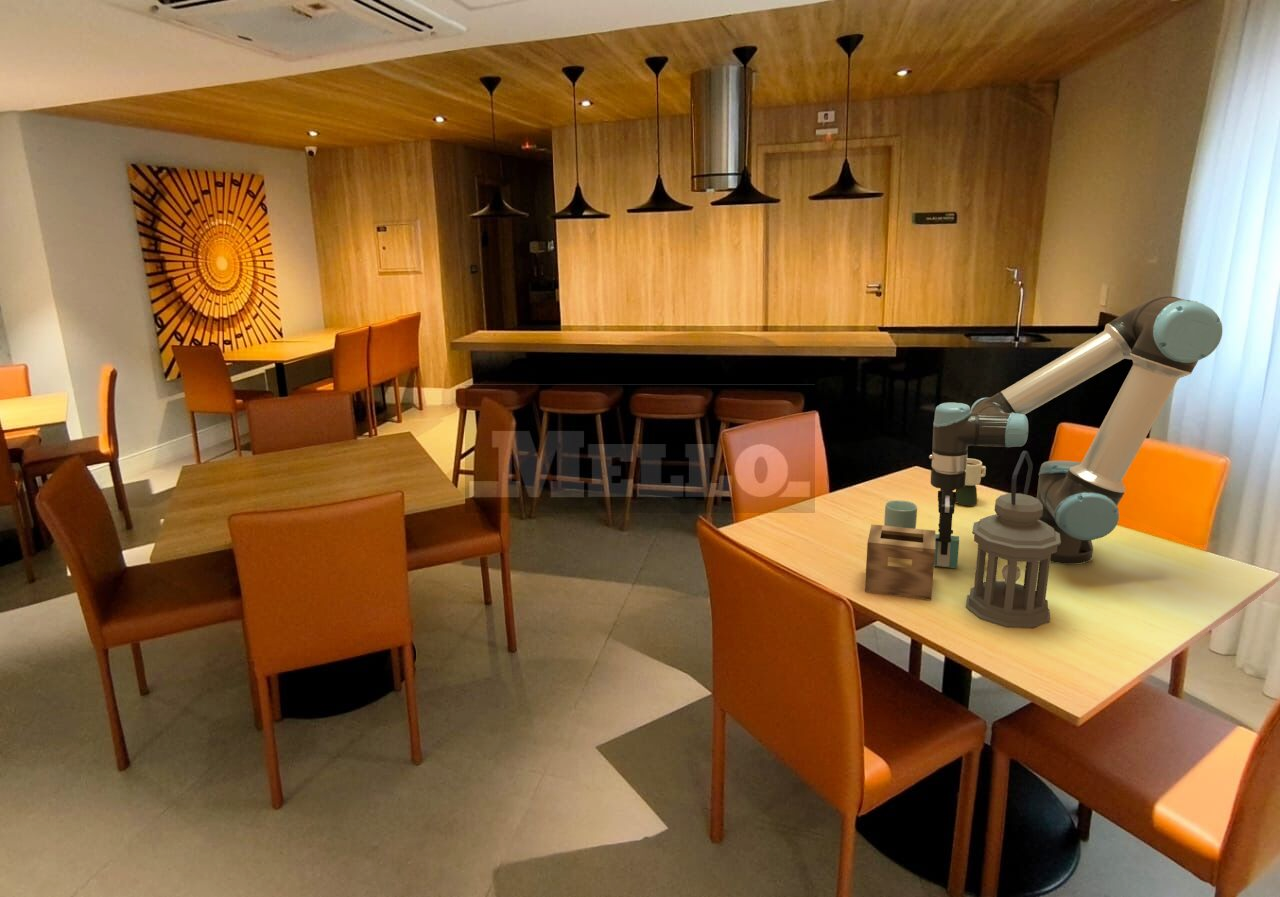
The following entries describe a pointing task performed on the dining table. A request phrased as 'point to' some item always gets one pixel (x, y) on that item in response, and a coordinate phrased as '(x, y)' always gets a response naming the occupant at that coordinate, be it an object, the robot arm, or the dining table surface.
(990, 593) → the lantern
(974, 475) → the character mug
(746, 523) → the dining table surface
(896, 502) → the cup
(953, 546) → the block
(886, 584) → the coin box
